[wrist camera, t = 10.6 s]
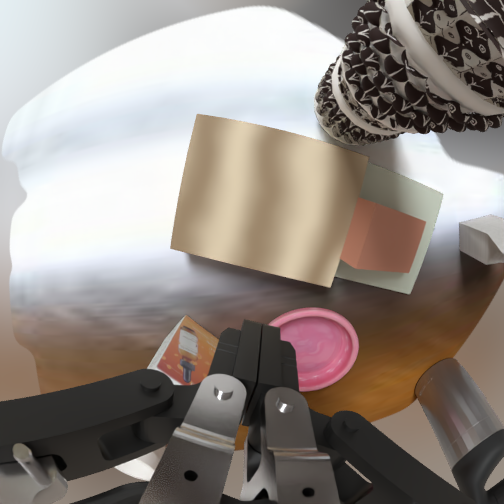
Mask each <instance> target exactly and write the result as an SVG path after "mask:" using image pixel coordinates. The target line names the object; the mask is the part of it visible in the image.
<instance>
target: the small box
mask: <svg viewBox="0 0 504 504" xmlns="http://www.w3.org/2000/svg"><path fill="white" fill-rule="evenodd" d="M218 342H219V339H217V338H216V337H215V336H213V335H212V334H211V333H209V332H208V331H206V330H205V329H204V328H202V327H201V326H200V325H199V324H197V323H196V322H195V321H193V320H192V319H191V318H190V317H189V316H187V315H185V316H184V317H183V318H182V319H181V321H180V322H179V323H178V324H177V325H176V326H175V328H174V329H173V330H172V331H171V332H170V334H169V335H168V336H167V337H166V338H165V340H164V341H163V343H162V345H161V346H160V348H159V350H158V351H157V353H156V355H155V356H154V358H153V359H152V361H151V363H150V364H149V366H148V368H147V369H154V370H158V371H160V372H162V373H164V374H166V375H167V376H168V377H169V378H170V379H171V380H172V382H173V384H174V385H194V384H197V383H200V382H201V381H203V380H204V379H205V378H206V377H207V375H208V373H209V369H210V366H211V363H212V360H213V357H214V354H215V351H216V348H217V345H218Z"/></svg>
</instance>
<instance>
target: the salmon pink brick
mask: <svg viewBox="0 0 504 504" xmlns="http://www.w3.org/2000/svg"><path fill="white" fill-rule="evenodd" d="M425 225H426V221H423V220H421V219H418V218H416V217H413V216H410V215H408V214H405V213H402V212H400V211H397V210H394V209H391V208H389V207H386V206H383V205H380V204H377V203H374V202H371V201H368V200H365V199H362V198H359V197H358V200H357V203H356V207H355V210H354V214H353V217H352V220H351V224H350V227H349V230H348V234H347V237H346V240H345V243H344V246H343V250H342V253H341V256H340V259H341V260H343V261H344V262H346V263H347V264H349V265H350V266H352V267H354V268H355V269H364V270H376V271H388V272H400V273H409V272H410V269H411V266H412V264H413V261H414V258H415V255H416V252H417V250H418V247H419V244H420V241H421V238H422V234H423V231H424V228H425Z"/></svg>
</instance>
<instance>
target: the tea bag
mask: <svg viewBox="0 0 504 504" xmlns="http://www.w3.org/2000/svg"><path fill="white" fill-rule="evenodd" d="M459 239H460V251H462V252H464V253H466V254H468V255H469V256H471V257H473V258H475V259H477V260H478V261H480V262H482V263H484V264H486V265H488V264H494V263H500V262H504V219H503V218H500V217H497V216H494V215H491V214H490V215H487V216H483V217H479V218H475V219H471V220H468V221H464V222H460V223H459Z"/></svg>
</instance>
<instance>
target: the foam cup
mask: <svg viewBox="0 0 504 504" xmlns="http://www.w3.org/2000/svg"><path fill="white" fill-rule="evenodd" d="M165 446H166V445H165ZM165 446H164V447H162V448H160V449H158V450H155V451H153V452H151V453H148V454H146V455H144V456H141V457H139V458H136V459H134V460H131V461H129V462H126V463H123V464H121V465H118V466H115V468H116V469H118V470H120V471H121V472H123V473H126V474H128V475H130V476H132V477H135V478H139V479H142V480H147V481H150V479H151V477H152V475H153V473H154V471H155V469H156V467H157V465H158V463H159V461H160V459H161V457H162V455H163V453H164V451H165Z"/></svg>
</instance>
